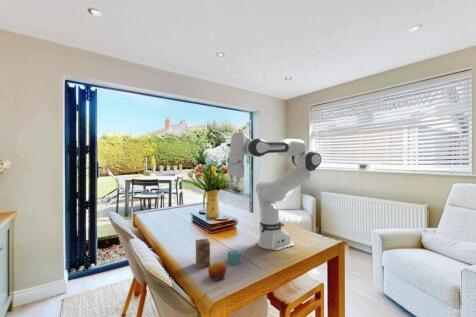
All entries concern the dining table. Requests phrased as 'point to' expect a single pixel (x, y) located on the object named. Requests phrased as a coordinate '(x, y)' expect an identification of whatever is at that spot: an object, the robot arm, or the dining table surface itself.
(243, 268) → the dining table surface
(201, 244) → the tower top
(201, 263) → the block
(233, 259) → the teal block
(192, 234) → the dining table surface
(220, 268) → the fruit
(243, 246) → the dining table surface
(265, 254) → the dining table surface
